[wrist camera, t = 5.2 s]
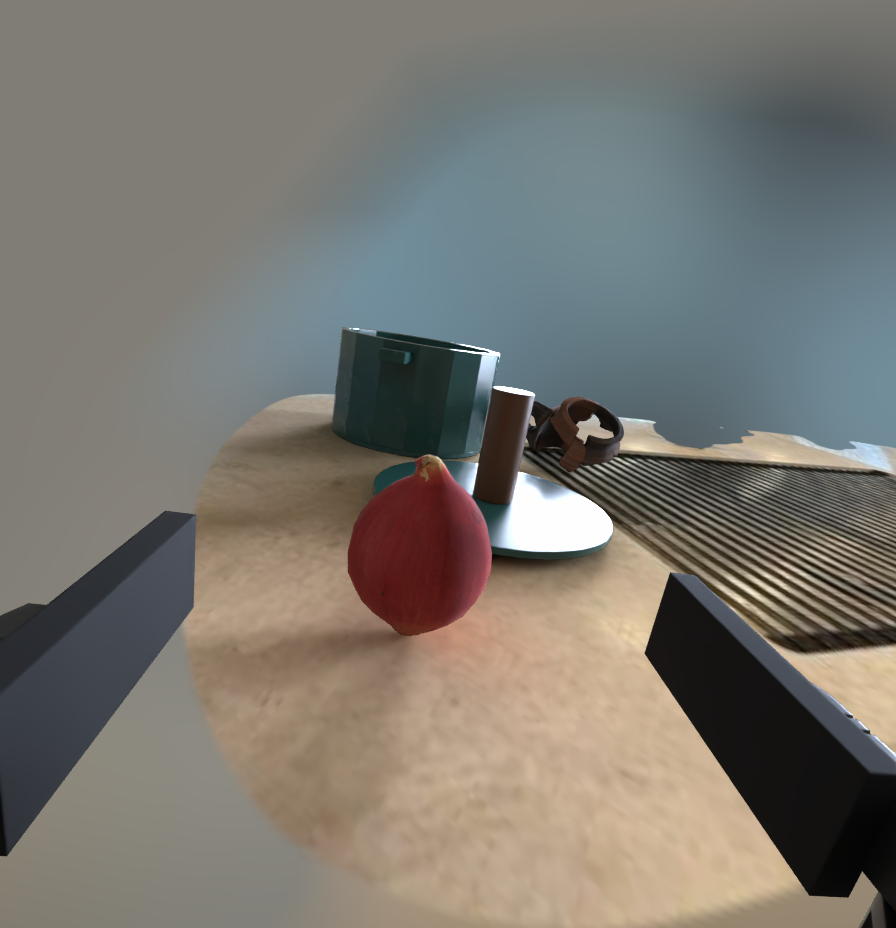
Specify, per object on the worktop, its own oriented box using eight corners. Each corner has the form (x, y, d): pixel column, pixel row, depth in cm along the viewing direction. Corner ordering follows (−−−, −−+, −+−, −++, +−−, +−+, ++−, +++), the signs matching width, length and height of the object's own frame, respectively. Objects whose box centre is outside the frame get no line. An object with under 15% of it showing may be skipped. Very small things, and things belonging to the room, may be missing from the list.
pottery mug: (596, 460, 62) (633, 412, 56) (588, 513, 55) (629, 464, 50) (508, 418, 62) (536, 366, 57) (489, 466, 56) (518, 411, 50)
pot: (292, 441, 47) (302, 325, 44) (368, 408, 68) (378, 328, 65) (467, 477, 45) (488, 359, 42) (489, 432, 66) (505, 351, 63)
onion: (408, 582, 26) (431, 431, 24) (499, 639, 22) (537, 468, 20) (311, 622, 21) (330, 440, 19) (408, 700, 18) (444, 490, 16)
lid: (333, 527, 30) (349, 377, 28) (406, 459, 47) (420, 361, 45) (629, 595, 28) (675, 440, 26) (595, 498, 45) (621, 398, 43)
